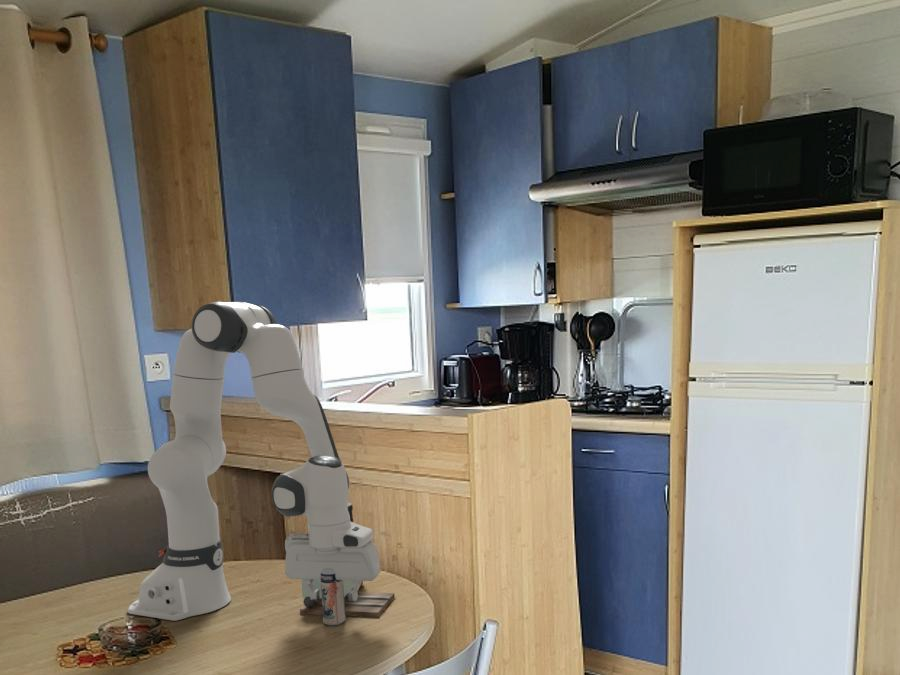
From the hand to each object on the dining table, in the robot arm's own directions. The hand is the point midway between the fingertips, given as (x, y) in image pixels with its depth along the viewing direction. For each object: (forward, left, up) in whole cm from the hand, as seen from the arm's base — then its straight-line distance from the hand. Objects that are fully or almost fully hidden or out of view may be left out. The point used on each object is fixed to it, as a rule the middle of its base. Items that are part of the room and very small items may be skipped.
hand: (334, 599), depth 155 cm
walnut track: (-1, +9, -5) cm, 10 cm away
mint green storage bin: (-5, +9, -4) cm, 11 cm away
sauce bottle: (-5, +20, -5) cm, 21 cm away
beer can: (0, 0, -5) cm, 5 cm away
